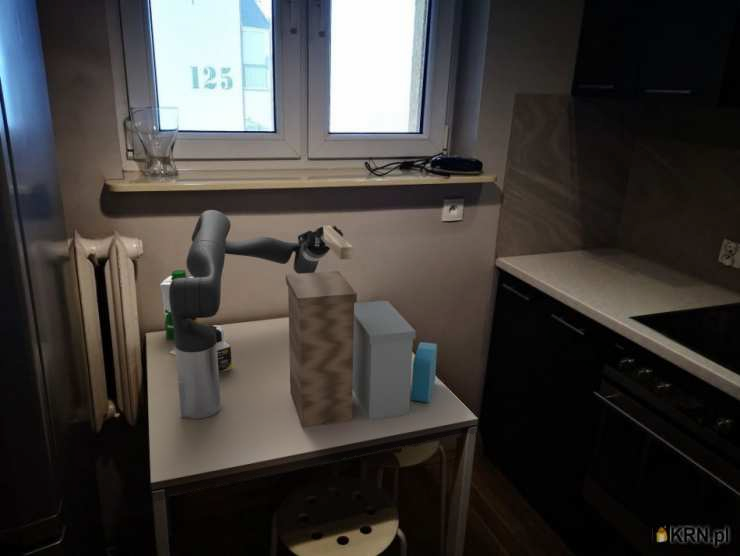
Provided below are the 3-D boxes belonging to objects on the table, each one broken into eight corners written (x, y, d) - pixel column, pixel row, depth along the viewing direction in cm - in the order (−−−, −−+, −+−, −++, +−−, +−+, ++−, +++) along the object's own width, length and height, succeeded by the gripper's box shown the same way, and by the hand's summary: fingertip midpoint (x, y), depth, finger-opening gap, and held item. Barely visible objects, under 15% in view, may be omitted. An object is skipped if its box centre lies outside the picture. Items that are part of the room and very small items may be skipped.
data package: (418, 380, 152) (420, 339, 149) (434, 382, 151) (437, 342, 148) (410, 402, 141) (413, 359, 138) (428, 405, 140) (431, 362, 137)
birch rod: (340, 259, 134) (340, 247, 133) (318, 236, 154) (319, 226, 153) (352, 258, 135) (352, 246, 134) (329, 236, 155) (329, 225, 154)
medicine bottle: (207, 376, 151) (204, 335, 147) (197, 366, 156) (193, 326, 153) (232, 368, 156) (230, 329, 152) (220, 359, 161) (218, 320, 157)
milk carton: (200, 329, 180) (195, 270, 174) (190, 341, 172) (185, 279, 165) (173, 328, 180) (167, 269, 174) (162, 340, 172) (155, 278, 166)
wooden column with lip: (299, 428, 129) (297, 298, 119) (288, 392, 144) (285, 274, 134) (354, 420, 133) (356, 293, 123) (337, 386, 148) (338, 271, 138)
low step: (367, 420, 133) (370, 335, 126) (345, 379, 151) (346, 303, 144) (410, 414, 136) (415, 331, 129) (384, 375, 155) (387, 300, 148)
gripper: (340, 257, 167) (355, 242, 151) (293, 260, 163) (304, 244, 146) (337, 232, 168) (352, 215, 152) (290, 235, 164) (301, 217, 148)
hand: (328, 229), depth 149 cm, fingers closed on birch rod, 3 cm apart
